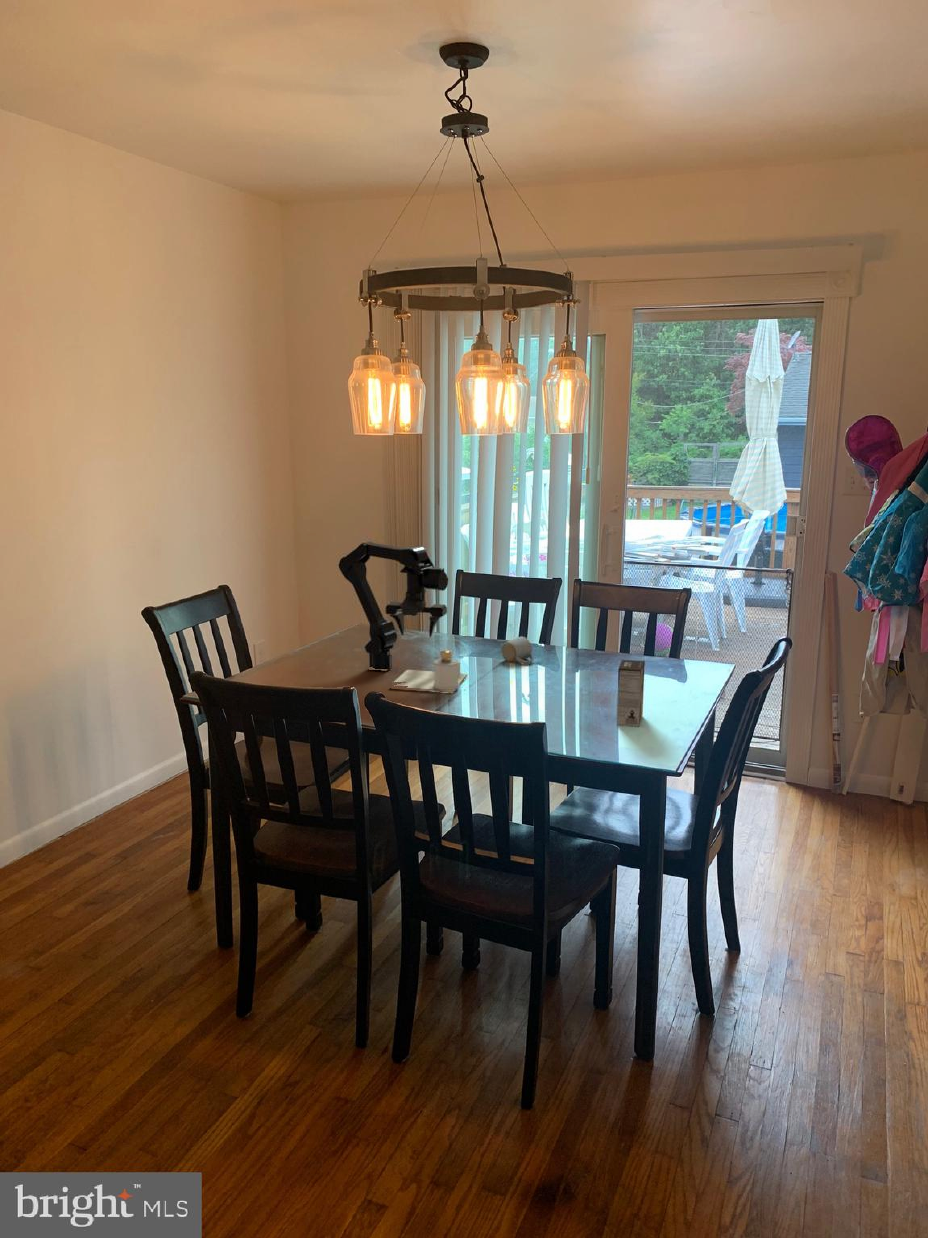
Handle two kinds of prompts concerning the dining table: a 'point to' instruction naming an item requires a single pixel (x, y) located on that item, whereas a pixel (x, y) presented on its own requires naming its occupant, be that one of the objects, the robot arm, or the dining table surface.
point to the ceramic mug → (517, 650)
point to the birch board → (422, 680)
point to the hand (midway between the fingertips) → (416, 635)
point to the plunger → (446, 655)
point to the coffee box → (630, 693)
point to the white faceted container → (446, 674)
